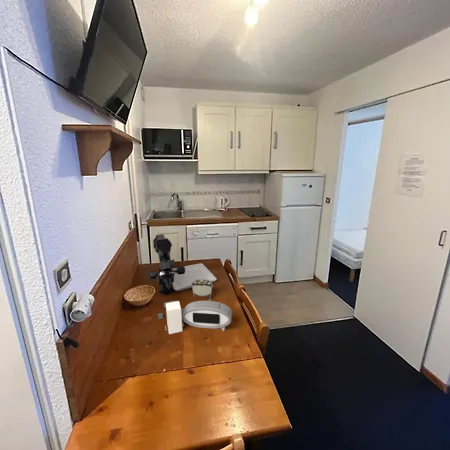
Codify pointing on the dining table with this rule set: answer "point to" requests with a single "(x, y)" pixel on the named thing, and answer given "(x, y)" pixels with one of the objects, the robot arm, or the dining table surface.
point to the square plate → (191, 276)
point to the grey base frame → (162, 313)
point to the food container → (202, 288)
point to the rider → (174, 317)
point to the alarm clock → (207, 314)
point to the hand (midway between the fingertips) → (169, 288)
